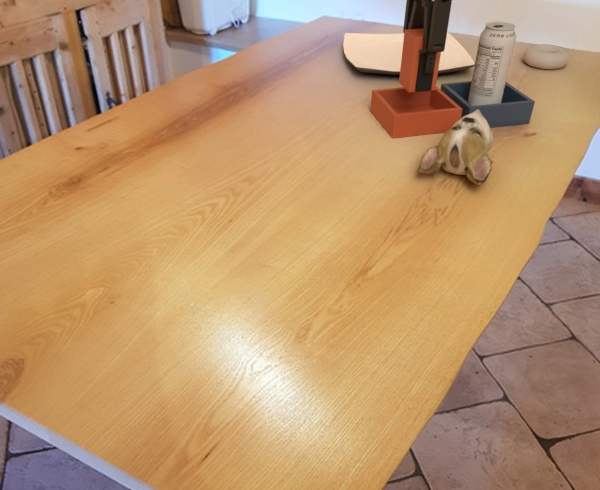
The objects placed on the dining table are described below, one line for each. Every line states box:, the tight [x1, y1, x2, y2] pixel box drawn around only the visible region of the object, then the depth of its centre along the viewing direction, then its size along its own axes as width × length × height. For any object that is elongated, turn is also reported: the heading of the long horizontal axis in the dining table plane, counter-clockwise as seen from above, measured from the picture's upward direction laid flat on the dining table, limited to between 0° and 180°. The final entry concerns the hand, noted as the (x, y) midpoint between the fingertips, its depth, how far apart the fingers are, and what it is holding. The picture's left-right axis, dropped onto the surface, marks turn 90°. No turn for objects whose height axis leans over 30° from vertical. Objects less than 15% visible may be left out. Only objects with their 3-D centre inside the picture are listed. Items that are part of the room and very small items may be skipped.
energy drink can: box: [468, 21, 517, 106], centre depth 99 cm, size 6×6×15 cm
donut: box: [522, 43, 571, 70], centre depth 125 cm, size 10×4×10 cm
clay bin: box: [370, 85, 462, 139], centre depth 101 cm, size 13×13×4 cm
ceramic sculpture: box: [417, 109, 495, 186], centre depth 85 cm, size 11×9×15 cm
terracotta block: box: [398, 28, 441, 92], centre depth 95 cm, size 5×5×9 cm
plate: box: [342, 30, 475, 76], centre depth 129 cm, size 29×29×3 cm
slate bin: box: [439, 80, 536, 129], centre depth 103 cm, size 13×13×4 cm
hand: (416, 84), depth 98 cm, fingers closed on terracotta block, 5 cm apart
